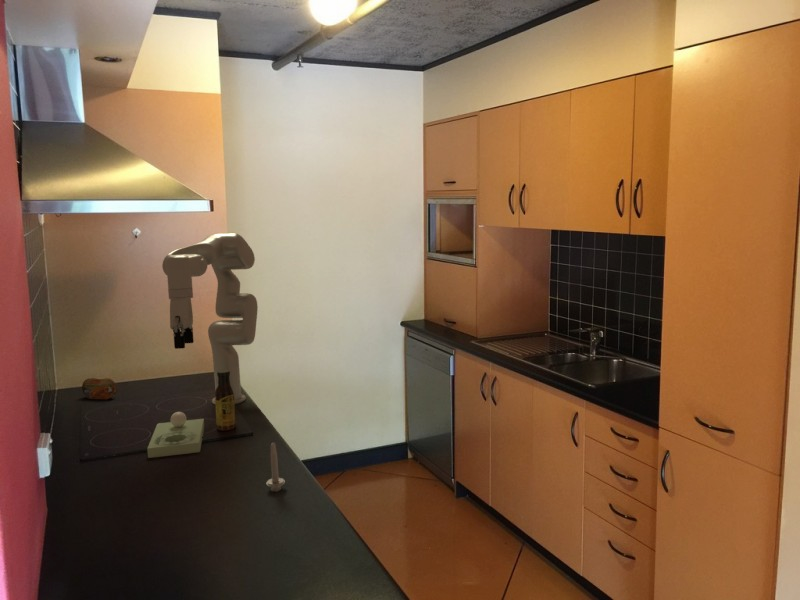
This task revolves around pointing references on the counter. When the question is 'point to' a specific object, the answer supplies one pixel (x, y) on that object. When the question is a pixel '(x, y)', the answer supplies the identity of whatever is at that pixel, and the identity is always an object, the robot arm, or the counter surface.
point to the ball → (178, 419)
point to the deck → (176, 439)
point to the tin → (99, 388)
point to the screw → (274, 471)
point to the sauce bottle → (224, 402)
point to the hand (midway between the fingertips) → (184, 345)
